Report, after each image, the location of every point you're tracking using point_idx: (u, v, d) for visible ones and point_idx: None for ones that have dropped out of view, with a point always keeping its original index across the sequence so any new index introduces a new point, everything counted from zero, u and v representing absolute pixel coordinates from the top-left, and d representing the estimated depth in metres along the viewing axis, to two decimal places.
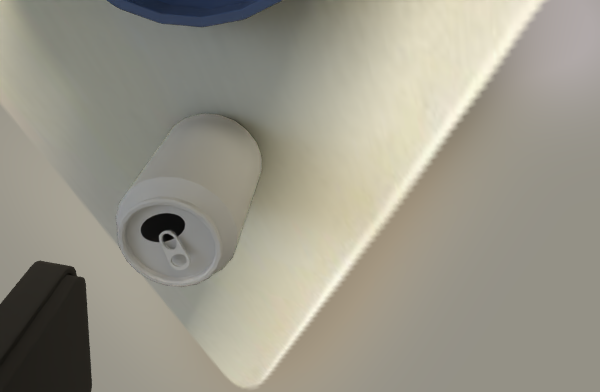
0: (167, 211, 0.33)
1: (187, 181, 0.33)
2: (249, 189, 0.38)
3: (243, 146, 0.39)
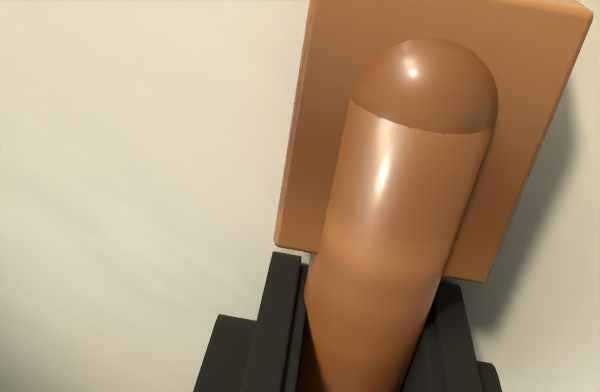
0: None
1: None
2: None
3: None
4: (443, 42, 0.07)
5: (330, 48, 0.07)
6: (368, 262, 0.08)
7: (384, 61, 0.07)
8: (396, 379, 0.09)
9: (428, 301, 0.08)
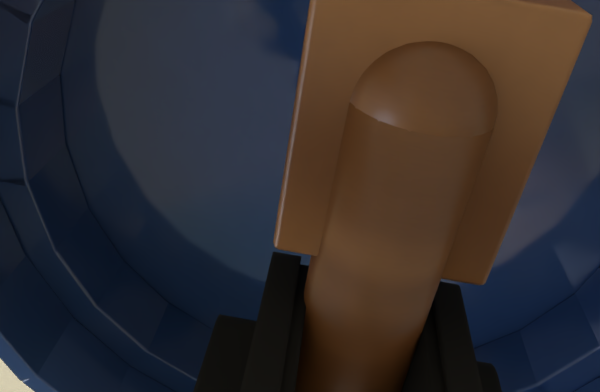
0: None
1: None
2: None
3: None
4: (442, 45, 0.07)
5: (330, 52, 0.07)
6: (368, 265, 0.08)
7: (384, 64, 0.07)
8: (396, 381, 0.09)
9: (428, 303, 0.08)
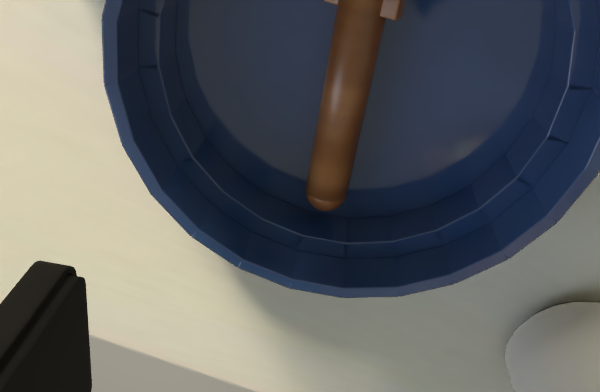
0: None
1: None
2: None
3: None
4: None
5: None
6: None
7: None
8: (361, 63, 0.23)
9: (373, 25, 0.22)
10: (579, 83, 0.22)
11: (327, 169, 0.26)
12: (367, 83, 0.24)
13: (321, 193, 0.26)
